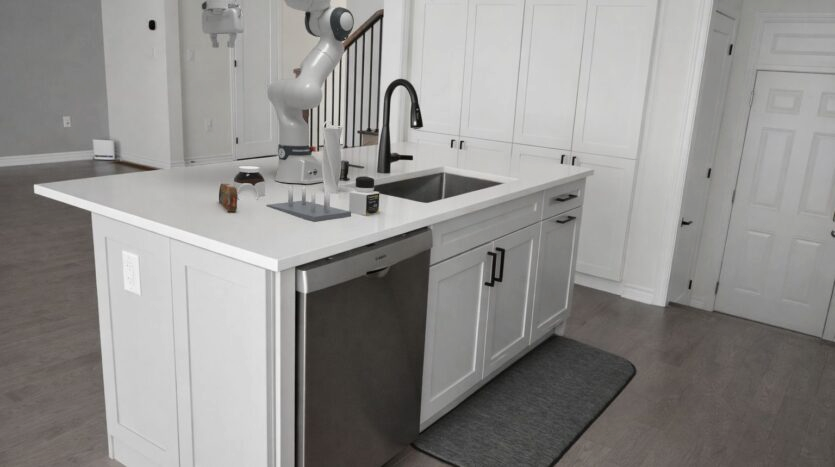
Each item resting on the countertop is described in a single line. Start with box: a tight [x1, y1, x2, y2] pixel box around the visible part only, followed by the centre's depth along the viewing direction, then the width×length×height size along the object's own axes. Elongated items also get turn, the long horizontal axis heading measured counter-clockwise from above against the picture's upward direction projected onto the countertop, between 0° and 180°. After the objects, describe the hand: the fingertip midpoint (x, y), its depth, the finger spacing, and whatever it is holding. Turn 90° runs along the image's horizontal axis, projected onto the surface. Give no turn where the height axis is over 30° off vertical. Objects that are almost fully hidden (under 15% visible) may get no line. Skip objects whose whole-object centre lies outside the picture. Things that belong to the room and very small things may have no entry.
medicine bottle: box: [348, 175, 380, 217], centre depth 205 cm, size 7×7×12 cm
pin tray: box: [265, 185, 352, 223], centre depth 201 cm, size 15×24×8 cm, turn 49°
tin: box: [218, 183, 238, 213], centre depth 197 cm, size 15×3×8 cm, turn 29°
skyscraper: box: [321, 119, 343, 195], centre depth 230 cm, size 8×8×28 cm
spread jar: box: [232, 165, 266, 201], centre depth 214 cm, size 12×11×12 cm
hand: (223, 47), depth 214 cm, fingers open, 8 cm apart
